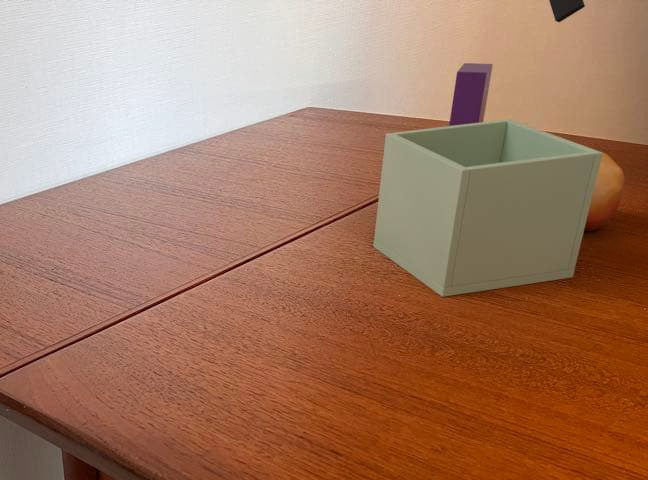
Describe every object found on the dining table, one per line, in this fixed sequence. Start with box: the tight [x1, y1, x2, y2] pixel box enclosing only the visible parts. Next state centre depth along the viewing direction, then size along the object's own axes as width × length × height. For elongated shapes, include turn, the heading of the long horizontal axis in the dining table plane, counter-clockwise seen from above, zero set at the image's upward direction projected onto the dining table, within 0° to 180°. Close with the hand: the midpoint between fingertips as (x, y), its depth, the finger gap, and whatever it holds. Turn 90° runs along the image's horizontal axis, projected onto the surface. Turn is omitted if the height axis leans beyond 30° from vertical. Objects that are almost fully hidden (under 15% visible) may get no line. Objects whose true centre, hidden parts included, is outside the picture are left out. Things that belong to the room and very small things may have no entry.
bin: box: [372, 118, 604, 298], centre depth 76 cm, size 12×12×11 cm
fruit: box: [584, 151, 625, 232], centre depth 84 cm, size 8×8×8 cm
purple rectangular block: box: [448, 62, 494, 126], centre depth 97 cm, size 3×5×12 cm, turn 152°
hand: (534, 1), depth 84 cm, fingers open, 13 cm apart
